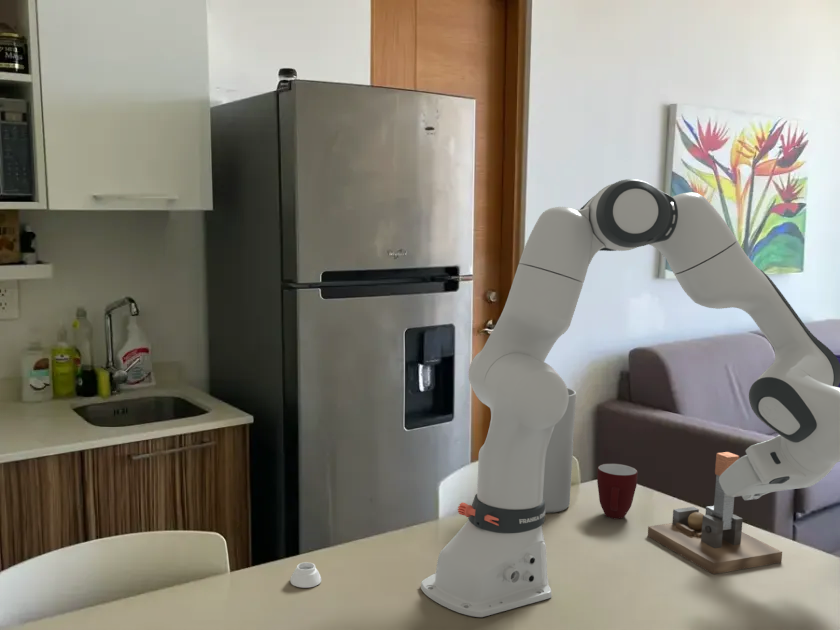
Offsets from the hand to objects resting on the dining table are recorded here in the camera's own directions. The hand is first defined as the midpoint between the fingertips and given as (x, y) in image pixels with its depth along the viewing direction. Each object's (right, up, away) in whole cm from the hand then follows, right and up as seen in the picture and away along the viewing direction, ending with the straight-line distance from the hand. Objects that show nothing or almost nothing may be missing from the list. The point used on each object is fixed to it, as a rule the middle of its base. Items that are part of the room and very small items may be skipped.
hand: (748, 495), depth 145 cm
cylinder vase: (-33, -9, +30) cm, 45 cm away
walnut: (-5, -9, +12) cm, 16 cm away
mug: (-18, -10, +23) cm, 31 cm away
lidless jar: (-78, -12, -11) cm, 80 cm away
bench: (-3, -12, +9) cm, 15 cm away
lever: (-2, -7, +6) cm, 10 cm away
